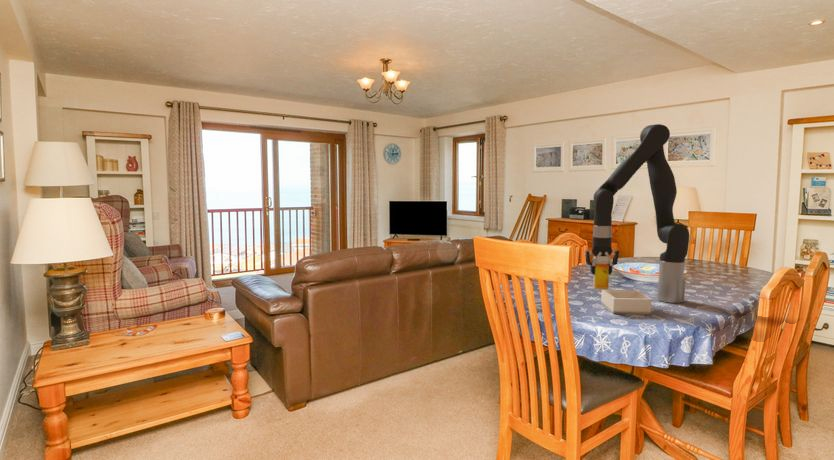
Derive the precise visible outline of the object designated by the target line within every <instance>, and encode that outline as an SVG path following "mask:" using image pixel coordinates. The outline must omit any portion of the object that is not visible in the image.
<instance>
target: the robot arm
mask: <svg viewBox="0 0 834 460" xmlns="http://www.w3.org/2000/svg"><path fill="white" fill-rule="evenodd" d="M670 132H671V131H670V130H669V128H668V127H667V126H666V125H664V124H661V123H658V124H650V125H647V126H645V127H644V128H643V129H642V130H641V132H640V134H639V138H640V144H639V145H638V146H637V148H636V149H635V150H634V151H633V152H632V153H631V154H630V155H629V156H628V157H627V158H626V159H624V160H623V161H622V162H621V163H620V164H619V165H618V166H617V167H616V168H615V170H614V171H613V172H612V173H611V174H610V176H609V177H608V179H607V180H605V181H604V182H603V183H602V184H601V185H600V187H598V189H596V191H595V192H594V194H593V200H594V201H593V202H594V203H595V212H594V215H593V228H592V248H591V250H585V251H584V257H585V264H587V265H588V266H590V273H591V274H592V275H593V276H594V275H595V264H596V261H597V258H598V256H608V258H609V276H610V275H611V274H612V273H613V266H614V265H615V266H616V265H617V264H618V262H619V261H618V260H619V255H620V251H619V250H618V249H613V248H612V240H613V238H612V237H613V230H612V229H613V228H612V213H613V207H614V198H615V197H614V196H615V195H616V194H617V193H618V192H619V191H620V190H622V189H623V188H624V187H625V185H627V183H628V182H629V181H630V180H631V178H632V177H633V176H634V175H635V174H636V173H637V171H638V170H640V168H641V167H642V166H643V165H644V164H645V163H646V167H647V172H648V173H647V174H648V178H649V187H650V190H651V196H652V200H653V205H654V210H655V212H654V213H655V220H656V232H657V233H656V234H657V237H658V239H659V241H660V242H662V243H663V244H666V250H665V251H664V252H661V253H660V254H659V267H658V282H657V283H658V284H657V285H658V286H657V298H656V299H657V300H658V301H661V302H664V303H669V304H680V303H685V292H686V283H687V282H686V279H684V277H685V274H684V273H685V261H686V257H687V256H688V252H689V244H690V231H689V229H688V227H687V226H686V225H684V224H681V223H676V220H675V218H674V204H675V200H676V199H677V192H678V191H677V184H676V178H675V174H674V173H673V170H672V168H671V166H670V164H669V162H668V161H667V158H666V155H665V150H664V149H665V148H664V145H666V144H667V142H669V139H670V134H671V133H670ZM611 254H612V255H613V256H612V259H611V257H610V256H611ZM591 255H593V257H592V259H591ZM594 257H596V258H595V259H594Z"/></svg>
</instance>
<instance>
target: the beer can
mask: <svg viewBox="0 0 834 460" xmlns="http://www.w3.org/2000/svg"><path fill="white" fill-rule="evenodd" d="M595 258H596V257H594V259H595ZM609 277H610V275H609V258H608V256H598V258H597V261H596V264H595V275H593V283H592V284H593V285H592V286H593V288H594V290H596V291H601V292H602V290H609V282H610V281H609V280H610V279H609Z"/></svg>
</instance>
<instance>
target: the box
mask: <svg viewBox="0 0 834 460" xmlns="http://www.w3.org/2000/svg"><path fill="white" fill-rule="evenodd" d="M600 293H601V295H600V297H601V299H600V300H601V301H600V305H602V306H603V307H605V309H607V310H608V311H609V312H610V313H611V314H613V315H644V314H647V315H648V316H649V315H650V316H651V314H652V313H651V312H652V311H651V310H652V299H651V298H650V297H648V296H646V295H644V294H643V293H641V292H640V291H638V290H637V289H634V290H633V289H632V290H631V289H622V290H621V289H607V290H602V291H601V292H600Z"/></svg>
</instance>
